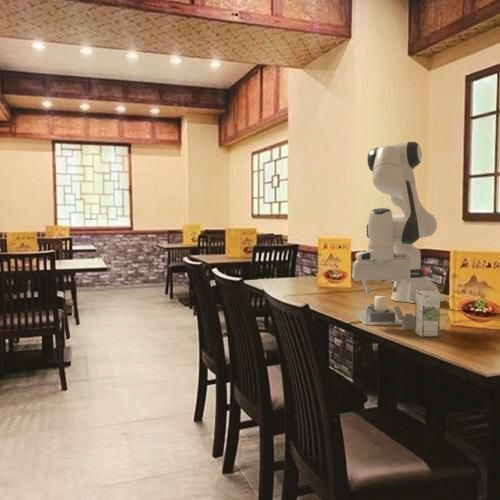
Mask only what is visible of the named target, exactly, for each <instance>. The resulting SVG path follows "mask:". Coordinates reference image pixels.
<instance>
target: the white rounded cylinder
mask: <svg viewBox="0 0 500 500" xmlns="http://www.w3.org/2000/svg"><path fill="white" fill-rule="evenodd" d="M374 304H375V312H386V308H387V296H384V295H376V296H374Z"/></svg>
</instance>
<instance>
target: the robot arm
mask: <svg viewBox="0 0 500 500" xmlns="http://www.w3.org/2000/svg"><path fill="white" fill-rule="evenodd" d="M422 157H423V152H422V148H421V146H420V145H419V143H417V141H407V142H396V143H391V144H387V145H385V146H384V145H383V146H380V147H375V148H372V149H371V150H369V152H368V153H367V159H366V162H367V167H368V168H369V170H370V171H371V172H372V183H373V185H374V187H375V188H376V189H377V190H378V191H379V192H381V193H383V194H384V195H389V197H390V201H391V202H392V204H393V206H394V205H395V206H396V207H398V208H399V209H400V210H401V211H402V212H397V213H396V212H394V213H392V212H393V211H392V210H391V209H389V208H384V207H383V208H381V207H380V208H374V209H371V210H370V211H369V214H368V223H367V224H366V237H367V238H368V239H369V240H368V244H367V245H368V246H367V247H368V248H367V249H364V250H363V251H359V252H356V253H355V256H354V257H355V261H353V264H352V274H351V277H352V279H353V280H354V281H356V282H359V281H362V282H361V283H362V285H363V286H364V288H365V293H366V294H371V293H372V292H371V287H370V286H369V287H368V285H367V284H368V281H392V280H393V286H392V287H391V289H392V290H391V292H392V294H391V298H390V300H392V301H395V302H396V301H397V302H403V303H410V304H416V290H420V289H435V290H437V291H439V288H438V287H437V285H436V284H435V283H433V282H432V281H431V280H430V279H428V278H427V277H426V276H427V275H429V271H428V270H426V269H423V268H422V267H421V262H422V261H421V259H422V258H421V254H422V253H421V250H420V249H419V248H418V247H417V246H415V245H413V244H415V243H416V242H417V241H418V240H419V239H422V238H427V237H432V236H434V234H435V233H436V231H437V227H438V222H437V219H436V218H435V216H434V215H433V214H431V213H430V212H429V211H427V210H426V208H425V207H424V206H423V205H422V203H421V202H420V199H419V196H418V191H417V186H416V177H415V173H414V169H415V167H418V166H419V165H420V164H421V161H422ZM443 302H445V298H444V297H442V296H441V295H440V303H443Z"/></svg>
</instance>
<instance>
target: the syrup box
mask: <svg viewBox="0 0 500 500" xmlns="http://www.w3.org/2000/svg"><path fill="white" fill-rule="evenodd" d="M440 296H441V292H440V291H439V290H438V291H437V290H435V289H420V290H416V303H415V312H414V314H415V315H414V316H415V330H414V332H415V334H416V335H418V336H419V337H421V338H436V337H437V338H438V337H440V323H441V322H440V321H441V319H440V316H441V311H440V310H441V302H440Z"/></svg>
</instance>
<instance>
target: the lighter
mask: <svg viewBox="0 0 500 500" xmlns="http://www.w3.org/2000/svg"><path fill="white" fill-rule="evenodd" d="M393 311H394V312H395V315H397V316H396V317H397V318H398V319H399V320H401V319H402V320H401V321H402V325H401V326H402V327H401V329H402V330H403V331H415V315H414V314H413V313H405V316H404V314H403V312H402V310H401V307H399V305H395V306H394V307H393Z"/></svg>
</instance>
